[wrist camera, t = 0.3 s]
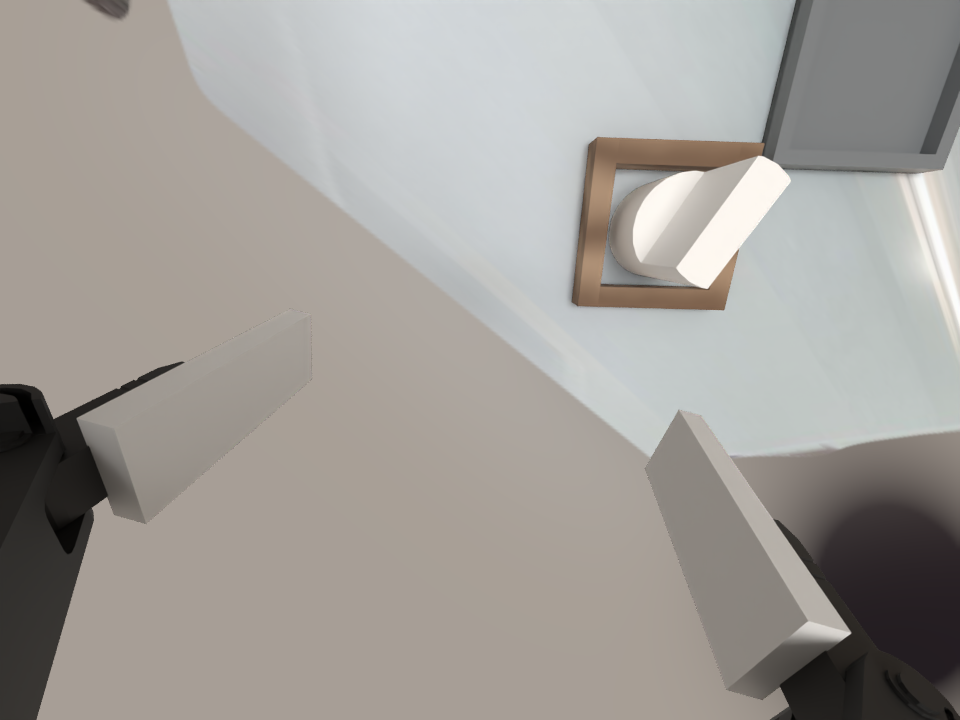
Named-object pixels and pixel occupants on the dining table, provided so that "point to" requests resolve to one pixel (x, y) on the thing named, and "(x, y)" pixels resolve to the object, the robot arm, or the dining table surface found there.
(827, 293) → the dining table surface
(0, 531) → the robot arm
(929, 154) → the charcoal tray
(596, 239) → the walnut collar
